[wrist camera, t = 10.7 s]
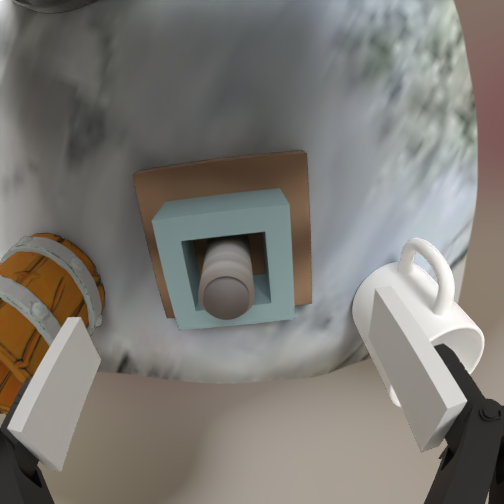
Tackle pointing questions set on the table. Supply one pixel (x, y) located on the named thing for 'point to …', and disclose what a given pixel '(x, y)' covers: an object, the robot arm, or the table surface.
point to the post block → (233, 246)
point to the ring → (224, 224)
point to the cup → (421, 306)
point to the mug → (41, 304)
